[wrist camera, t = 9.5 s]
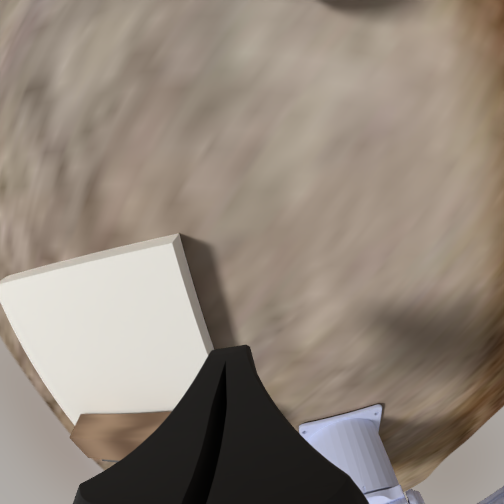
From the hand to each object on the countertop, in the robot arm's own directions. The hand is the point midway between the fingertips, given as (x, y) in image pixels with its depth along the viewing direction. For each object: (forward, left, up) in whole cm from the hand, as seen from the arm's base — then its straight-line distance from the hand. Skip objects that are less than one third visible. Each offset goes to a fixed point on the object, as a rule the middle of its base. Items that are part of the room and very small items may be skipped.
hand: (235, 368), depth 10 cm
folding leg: (-11, +10, -7) cm, 17 cm away
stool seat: (-6, +11, -9) cm, 16 cm away
